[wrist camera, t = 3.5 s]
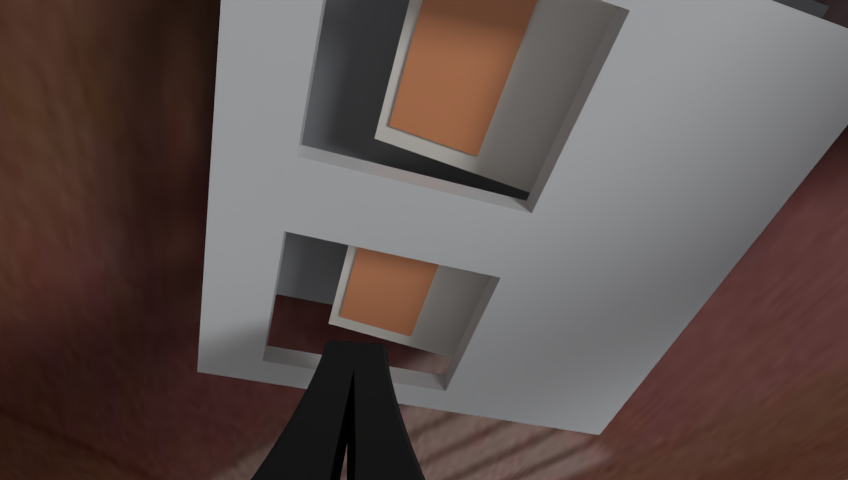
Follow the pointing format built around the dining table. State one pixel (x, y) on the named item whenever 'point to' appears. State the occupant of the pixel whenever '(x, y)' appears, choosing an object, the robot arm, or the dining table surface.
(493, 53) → the rocker near
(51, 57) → the dining table surface
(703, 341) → the dining table surface
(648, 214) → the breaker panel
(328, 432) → the robot arm
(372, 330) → the rocker far
